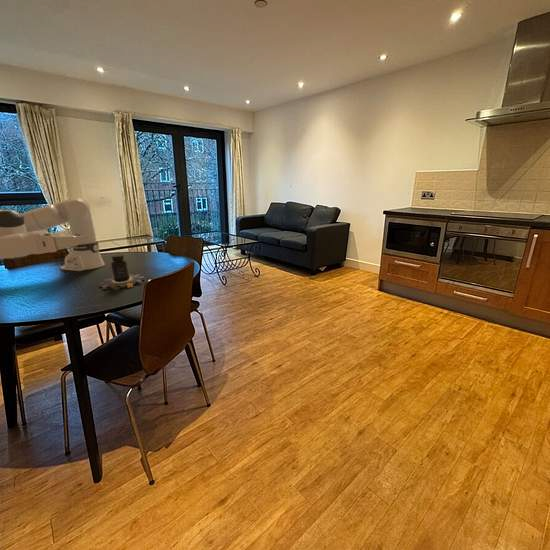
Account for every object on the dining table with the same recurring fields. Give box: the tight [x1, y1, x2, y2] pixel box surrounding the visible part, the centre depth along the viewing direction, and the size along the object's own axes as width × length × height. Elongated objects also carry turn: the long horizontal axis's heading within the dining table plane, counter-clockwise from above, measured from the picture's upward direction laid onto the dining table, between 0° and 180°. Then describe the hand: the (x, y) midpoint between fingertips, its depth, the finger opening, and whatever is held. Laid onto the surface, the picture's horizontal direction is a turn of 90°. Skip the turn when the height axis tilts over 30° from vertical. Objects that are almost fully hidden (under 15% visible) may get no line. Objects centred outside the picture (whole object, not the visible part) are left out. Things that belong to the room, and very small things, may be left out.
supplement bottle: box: [110, 254, 130, 282], centre depth 141 cm, size 7×7×12 cm
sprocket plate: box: [99, 273, 145, 291], centre depth 143 cm, size 19×19×2 cm
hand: (83, 236), depth 127 cm, fingers open, 8 cm apart
